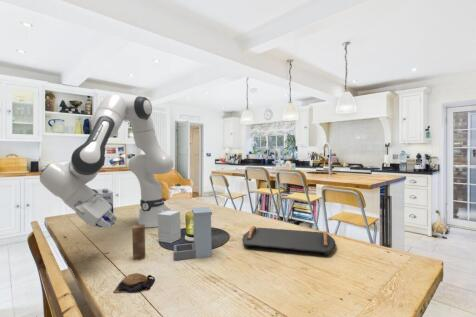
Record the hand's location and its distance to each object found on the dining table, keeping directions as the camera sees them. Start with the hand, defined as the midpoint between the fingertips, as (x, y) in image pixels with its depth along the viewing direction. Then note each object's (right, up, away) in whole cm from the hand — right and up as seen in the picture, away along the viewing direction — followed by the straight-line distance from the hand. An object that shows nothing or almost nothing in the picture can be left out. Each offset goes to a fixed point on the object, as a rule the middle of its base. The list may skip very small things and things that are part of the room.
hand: (112, 223), depth 95 cm
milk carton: (-28, -13, +48) cm, 57 cm away
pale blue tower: (+29, -13, +5) cm, 32 cm away
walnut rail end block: (+9, -14, +3) cm, 16 cm away
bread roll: (+15, -15, -18) cm, 28 cm away
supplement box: (+15, -13, +22) cm, 30 cm away
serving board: (+68, -13, +15) cm, 71 cm away
